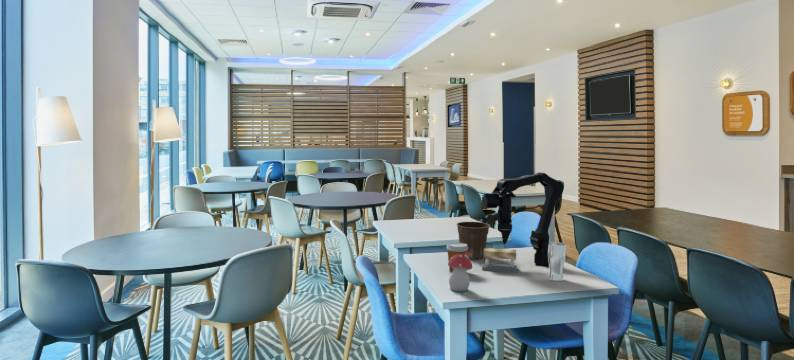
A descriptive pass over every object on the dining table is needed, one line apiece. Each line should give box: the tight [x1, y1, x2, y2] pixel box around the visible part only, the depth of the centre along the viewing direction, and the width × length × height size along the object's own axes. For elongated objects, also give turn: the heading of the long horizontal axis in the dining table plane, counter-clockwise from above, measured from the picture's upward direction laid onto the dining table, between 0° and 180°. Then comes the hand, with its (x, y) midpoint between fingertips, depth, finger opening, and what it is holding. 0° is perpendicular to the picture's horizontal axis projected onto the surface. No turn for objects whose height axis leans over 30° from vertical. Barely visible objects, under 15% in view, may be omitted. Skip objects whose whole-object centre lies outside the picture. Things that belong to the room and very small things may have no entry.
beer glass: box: [547, 241, 567, 282], centre depth 199 cm, size 7×7×15 cm
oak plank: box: [482, 247, 517, 261], centre depth 214 cm, size 14×6×3 cm, turn 76°
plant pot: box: [456, 221, 491, 260], centre depth 237 cm, size 16×16×16 cm
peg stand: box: [481, 258, 518, 273], centre depth 215 cm, size 15×7×6 cm, turn 76°
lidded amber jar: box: [446, 242, 468, 273], centre depth 210 cm, size 10×10×12 cm
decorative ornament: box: [447, 252, 473, 293], centre depth 184 cm, size 9×6×15 cm
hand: (504, 241), depth 218 cm, fingers open, 9 cm apart
